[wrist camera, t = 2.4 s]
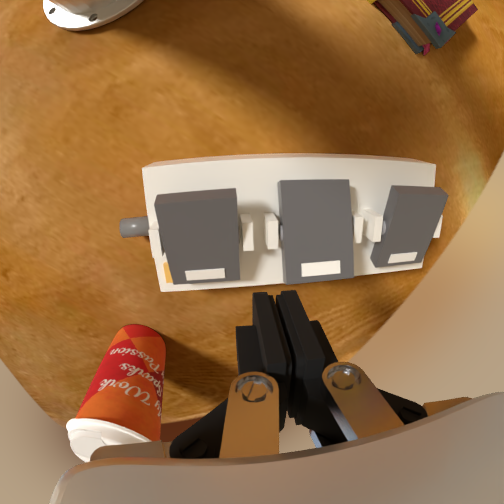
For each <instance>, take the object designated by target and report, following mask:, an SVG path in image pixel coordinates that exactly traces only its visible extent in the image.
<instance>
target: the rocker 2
mask: <svg viewBox="0 0 504 504" xmlns="http://www.w3.org/2000/svg"><path fill="white" fill-rule="evenodd" d="M448 196H449V195H448V194H447V193H446V192H445V191H444V190H443V189H441V188H440V187H425V186H401V185H391V189H390V192H389V196H388V200H387V204H386V207H385V211H384V214H383V224H382V233H381V241H380V242H375V244H374V247H373V250H372V253H371V256H370V259H371V261H372V263H373V265H374V267H375V268H378V267H387V266H396V265H405V264H413V263H421V262H422V260H423V258H424V255H425V253H426V251H427V249H428V246H429V244H430V242H431V239H432V237H433V235H434V232H435V230H436V227H437V225H438V222H439V220H440V217H441V215H442V212H443V209H444V207H445V204H446V201H447V198H448Z"/></svg>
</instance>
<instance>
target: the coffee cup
mask: <svg viewBox="0 0 504 504" xmlns="http://www.w3.org/2000/svg"><path fill="white" fill-rule="evenodd" d="M165 358H166V346H165V342H164V340H163V339H162V337H161V336H160V335H159V334H158V333H157V332H156V331H154V330H153V329H151V328H149V327H147V326H143V325H139V324H131V325H126V326H124V327H122V328H121V329H120V330H119V331H118V332H117V334H116V336H115V337H114V339H113V341H112V343H111V345H110V347H109V348H108V350H107V352H106V354H105V356H104V358H103V360H102V362H101V364H100V366H99V368H98V370H97V372H96V374H95V376H94V378H93V381H92V383H91V385H90V387H89V389H88V391H87V393H86V396H85V398H84V400H83V402H82V405H81V407H80V409H79V411H78V414H77V416H76V418H75V419H71V420H69V421H68V422H67V425H66V428H67V430H68V437H69V440H70V441H71V442H70V446H71V448H72V450H73V451H74V453H75V454H76V455H77V456H78V457H79V458H81V459H82V460H84V461H85V462H90V457H91V455H92V453H93V452H94V450H96V449H98V448H99V447H102V446H106V445H121V444H133V443H143V442H152V441H160V425H161V410H162V396H163V383H164V371H165Z"/></svg>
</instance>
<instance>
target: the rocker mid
mask: <svg viewBox="0 0 504 504" xmlns="http://www.w3.org/2000/svg"><path fill="white" fill-rule="evenodd" d="M277 187H278V202H279V217H280V224H279V225H278V235H279V240H280V241H281V251H282V269H283V282H284V283H285V284H286V285H288V284H298V283H309V282H319V281H328V280H338V279H347V278H354V252H353V227H352V209H351V195H350V183H349V179H311V180H280V181H279V182H278V183H277Z"/></svg>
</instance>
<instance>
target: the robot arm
mask: <svg viewBox="0 0 504 504" xmlns="http://www.w3.org/2000/svg"><path fill="white" fill-rule="evenodd" d="M142 1H144V0H44V1H43V7H44V12H45V15H46V17H47V19H48V20H49V21H50V22H51V23H52V24H54V25H56V26H58V27H60V28H63V29H66V30H72V31H80V30H89V29H92V28H96V27H100V26H102V25H105V24H107V23H110V22H112V21H114V20H116V19H118V18H119V17H121V16H123V15H125V14H126V13H128V12H129V11H131V10H132V9H134V8H135V7H136V6H138V5H139V4H140V3H141V2H142ZM236 346H237V361H238V373H239V376H238V377H236V378H235V379H234V380H233V381H232V383H231V386H230V390H229V397H228V398H227V399H226V400H225V401H224V402H222V403H221V404H220V405H219V406H217V407H216V408H215V409H213V410H212V411H211V412H210V413H208V414H207V415H206V416H204V417H203V418H202V419H200V420H199V421H198V422H196V423H195V424H194V425H192V426H191V427H190V428H188V429H187V430H186V431H185V432H183V433H181V434H180V435H179V436H177V437H176V438H175V439H174V440H173V441H172V442H166V443H162V441H161V440H160V441H152V442H143V443H133V444H121V445H106V446H102V447H99V448H98V449H96V450H94V452H93V453H92V455H91V457H90V462H86V463H83V464H80V465H76V466H74V467H72V468H70V469H69V470H67V471H66V472H65V473H64V474H63V475H62V476H61V478H60V479H59V481H58V483H57V484H56V487H55V489H54V491H53V494H52V496H51V499H50V502H49V504H504V392H496V393H491V394H486V395H482V396H479V397H476V398H473V399H472V398H468V397H461V398H455V399H449V400H444V401H436V402H429V403H424V405H423V406H421V405H419V404H417V403H415V402H413V401H410V400H407V399H404V398H402V397H399V396H396V395H393V394H391V393H388V392H385V391H383V390H380V389H378V388H376V387H375V385H374V384H373V383H372V382H371V380H370V379H369V378H368V376H367V375H366V374H365V372H364V371H363V370H362V369H361V368H360V367H358V366H357V365H355V364H352V363H349V362H338V360H337V358H336V356H335V354H334V352H333V350H332V348H331V345H330V343H329V341H328V339H327V337H326V335H325V333H324V331H323V329H322V327H321V325H320V323H319V321H317V320H315V321H309V319H308V317H307V314H306V312H305V310H304V308H303V305H302V303H301V301H300V299H299V296H298V294H297V292H296V290H290V291H281V295H276V305H275V301H274V298H273V295H268V294H267V292H257V293H253V325H252V326H236ZM286 411H288V415H289V417H290V418H294V419H295V423H296V425H300V424H302V425H303V426H304V427H307V428H308V429H309V433H310V436H311V438H312V440H313V442H314V444H315V446H316V448H314V449H308V450H302V451H295V452H289V453H281V454H279V432H280V431H281V430H282V429H283V428H284V423H285V418H286Z"/></svg>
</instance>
